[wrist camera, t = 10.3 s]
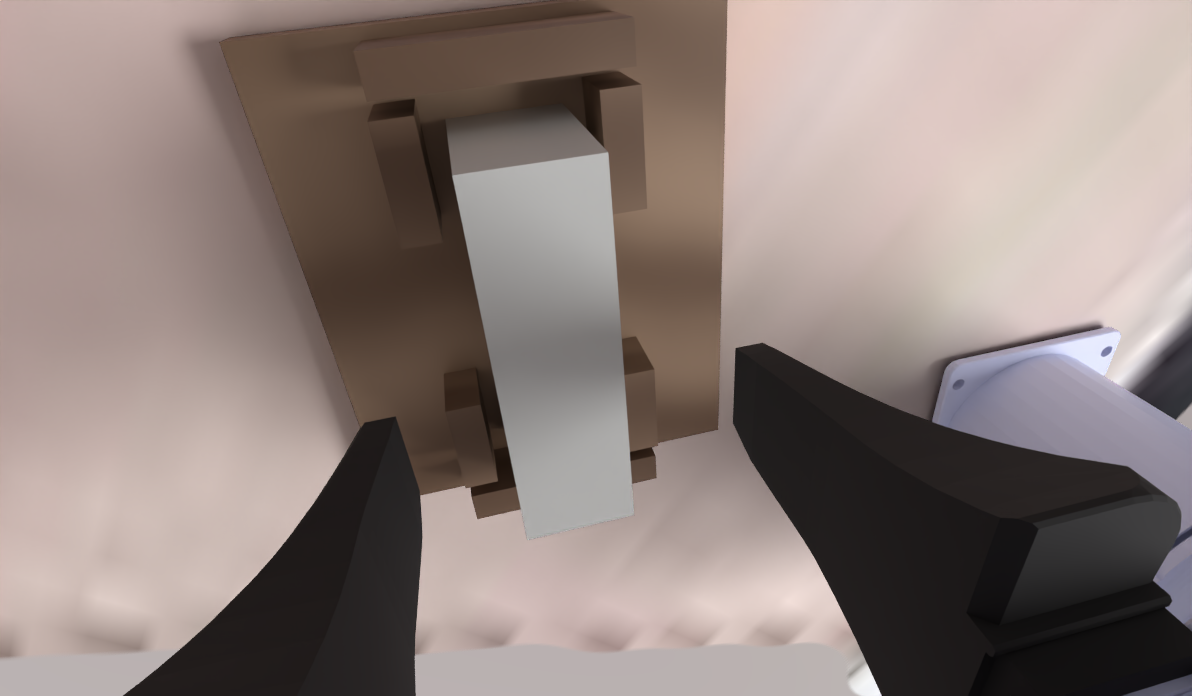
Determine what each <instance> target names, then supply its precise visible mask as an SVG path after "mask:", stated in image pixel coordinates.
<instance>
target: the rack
mask: <svg viewBox="0 0 1192 696" xmlns="http://www.w3.org/2000/svg"><path fill="white" fill-rule="evenodd" d="M726 41H727V0H553V1H545V2H536V3H527V4H519V5H510V6H501V7H492V8H484V9H475V10H466V11H458V12H449V13H440V14H431V15H423V16H414V17H405V18H397V19H388V20H379V21H371V22H362V23H353V24H344V25H336V26H327V27H318V28H310V29H301V30H292V31H284V32H275V33H266V34H257V35H249V36H240V37H231V38H228V39H226V40H224V41H221V42H219V43H220V46H221V48H222V51H223V54H224V57H225V59H226V62H227V65H228V68H229V70H230V73H231V76H232V78H233V81H234V84H235V87H236V89H237V92H238V95H239V98H240V100H241V103H242V106H243V108H244V111H245V114H246V117H247V119H248V122H249V125H250V128H251V130H252V133H253V136H254V139H255V141H256V144H257V147H258V149H259V152H260V155H261V158H262V160H263V163H264V166H265V169H266V171H267V174H268V177H269V179H270V182H271V185H272V188H273V190H274V193H275V196H276V199H277V201H278V204H279V207H280V209H281V212H282V215H283V218H284V220H285V223H286V226H287V229H288V231H289V234H290V237H291V240H292V242H293V245H294V248H295V250H296V253H297V256H298V259H299V261H300V264H301V267H302V270H303V272H304V275H305V278H306V280H307V283H308V286H309V289H310V291H311V294H312V297H313V300H314V302H315V305H316V308H317V311H318V313H319V316H320V319H321V321H322V324H323V327H324V330H325V332H326V335H327V338H328V341H329V343H330V346H331V349H332V351H333V354H334V357H335V360H336V362H337V365H338V368H339V371H340V373H341V376H342V379H343V381H344V384H345V387H346V390H347V392H348V395H349V398H350V401H351V403H352V406H353V409H354V412H355V414H356V417H357V420H358V422H359V425H360V428H361V427H362V425H363V424H364V423H365V422H370V421H375V420H380V419H385V418H390V417H395V416H396V419H397V422H398V425H399V428H400V431H401V434H402V437H403V440H404V444H405V447H406V450H407V453H408V456H409V459H410V462H411V465H412V468H413V471H414V475H415V478H416V481H417V484H418V487H419V490H420V495H424V494H429V493H433V492H438V491H442V490H447V489H451V488H456V487H460V486H465V487H466V488H469V487H471V496H472V500H473V504H474V508H475V512H476V515H477V519H480V518H484V517H489V516H493V515H497V514H502V513H506V512H510V511H515V510H519V509H521V507H520V502H519V497H518V493H517V488H516V483H515V478H514V473H513V468H512V463H511V458H510V454H509V449H508V444H507V439H506V434H505V429H504V424H503V420H502V415H501V410H500V405H499V400H498V395H497V390H496V386H495V381H494V376H493V371H492V366H491V361H490V356H489V352H488V347H487V342H486V337H485V332H484V327H483V322H482V318H481V313H480V308H479V303H478V298H477V293H476V288H475V283H474V279H473V274H472V269H471V264H470V259H469V254H468V249H467V245H466V240H465V235H464V230H463V225H462V220H461V215H460V211H459V206H458V201H457V196H456V191H455V186H454V181H453V177H452V169H451V161H450V153H449V145H448V137H447V129H446V121H445V119H449V118H456V117H463V116H471V115H478V114H486V113H493V112H500V111H508V110H515V109H523V108H530V107H538V106H545V105H552V104H560V103H562V104H563V105H564V106H565V107H566V108H567V109H568V110H569V111H570V112H571V113H572V114H573V115H574V116H575V117H576V118H577V120H578V121H579V122H580V123H581V124H582V125H583V126H584V127H585V128H586V129H587V130H588V131H589V132H590V133H591V134H592V136H593V137H594V138H595V139H596V140H597V141H598V142H599V143H600V144H601V145H602V146H603V147H604V148H605V149H606V150H607V151H608V155H609V169H610V183H611V197H612V211H613V225H614V239H615V253H616V267H617V281H618V295H619V309H620V323H621V337H622V351H623V365H624V379H625V392H626V406H627V420H628V434H629V448H630V462H631V476H632V484H633V483H637V482H641V481H646V480H650V479H654V478H656V459H655V454H654V452H653V449H652V447H654V446H658V443H659V442H664V441H668V440H673V439H677V438H682V437H686V436H691V435H695V434H700V433H705V432H709V431H714V430H718V411H719V365H720V319H721V273H722V226H723V180H724V134H725V87H726Z"/></svg>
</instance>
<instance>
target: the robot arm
mask: <svg viewBox="0 0 1192 696" xmlns="http://www.w3.org/2000/svg"><path fill="white" fill-rule="evenodd" d="M1120 337H1121V334H1120V332H1119V331H1117V330H1115V329H1114V328H1112V327H1106V328H1101V329H1097V330H1092V331H1087V332H1083V333H1078V334H1074V335H1069V336H1064V337H1060V338H1055V339H1050V340H1046V341H1041V342H1037V343H1032V344H1027V345H1023V346H1018V347H1014V348H1009V349H1004V350H1000V351H995V352H991V353H986V354H981V355H977V356H972V357H968V358H963V359H958V360H955V361H953V362H951V363H950V364H949V365H948V366H947V367H946V369H945V371H944V375H943V379H942V383H941V387H940V391H939V395H938V399H937V403H936V407H935V411H934V415H933V419H932V422H931V421H928V420H925V419H923V418H920V417H917V416H914V415H912V414H909V413H906V412H904V411H901V410H899V409H896V408H894V407H891V406H889V405H887V404H884V403H882V402H880V401H878V400H875V399H873V398H871V397H869V396H866V395H864V394H862V393H860V392H858V391H856V390H854V389H851V388H849V387H847V386H845V385H843V384H841V383H839V382H837V381H835V380H833V379H831V378H829V377H827V376H825V375H824V374H822V373H820V372H818V371H816V370H814V369H812V368H810V367H808V366H807V365H805V364H803V363H801V362H799V361H797V360H795V359H793V358H792V357H790V356H788V355H786V354H784V353H782V352H780V351H778V350H776V349H774V348H772V347H770V346H768V345H766V344H764V343H759V344H754V345H749V346H744V347H739V348H736V353H735V381H734V408H733V424H734V426H735V428H736V430H737V433H738V435H739V437H740V439H741V441H742V443H743V445H744V447H745V449H746V451H747V453H748V455H749V457H750V459H751V461H752V463H753V464H754V466H755V468H756V469H757V471H758V472H759V474H760V475H761V477H762V478H763V480H764V481H765V483H766V484H767V486H768V487H769V489H770V490H771V492H772V493H773V495H774V496H775V498H776V499H777V501H778V502H779V504H780V505H781V507H782V508H783V510H784V511H785V513H786V514H787V516H788V517H789V519H790V520H791V522H792V523H793V525H794V526H795V528H796V529H797V531H798V532H799V534H800V535H801V537H802V538H803V540H804V541H805V543H806V545H807V546H808V548H809V549H810V551H811V553H812V554H813V556H814V558H815V560H816V561H817V563H818V565H819V567H820V569H821V571H822V573H823V575H824V577H825V579H826V580H827V582H828V584H829V586H830V588H831V590H832V592H833V594H834V596H835V598H836V600H837V602H838V604H839V606H840V608H841V610H842V612H843V614H844V616H845V618H846V620H847V622H848V624H849V626H850V628H851V630H852V632H853V634H854V636H855V638H856V640H857V642H858V645H859V647H860V649H861V651H862V653H863V655H864V658H865V660H866V662H867V664H868V666H869V669H870V671H871V673H872V675H873V677H874V679H875V682H876V684H877V686H878V688H879V690H880V693H881V695H882V696H1192V430H1191V429H1189V428H1188V427H1186V426H1184V425H1183V424H1181V423H1179V422H1178V421H1176V420H1175V419H1173V418H1171V417H1170V416H1168V415H1166V414H1165V413H1163V412H1162V411H1160V410H1158V409H1157V408H1155V407H1153V406H1152V405H1150V404H1149V403H1147V402H1145V401H1144V400H1142V399H1140V398H1139V397H1137V396H1136V395H1134V394H1132V393H1131V392H1129V391H1128V390H1126V389H1124V388H1123V387H1121V386H1119V385H1118V384H1116V383H1115V382H1113V381H1111V380H1110V379H1108V378H1106V377H1105V374H1106V372H1107V369H1108V367H1109V364H1110V362H1111V360H1112V357H1113V355H1114V352H1115V350H1116V348H1117V345H1118V343H1119V340H1120ZM421 549H422V518H421V502H420V490H419V487H418V484H417V481H416V478H415V475H414V471H413V468H412V465H411V462H410V459H409V456H408V453H407V450H406V447H405V444H404V440H403V437H402V434H401V431H400V428H399V425H398V422H397V419H396V416H395V417H390V418H385V419H380V420H375V421H370V422H365V423H364V424H363V425H362V427H361V428H360V430H359V431H358V433H357V435H356V436H355V438H354V440H353V442H352V443H351V445H350V447H349V448H348V450H347V452H346V453H345V455H344V457H343V458H342V460H341V462H340V463H339V465H338V467H337V468H336V470H335V471H334V473H333V475H332V476H331V478H330V479H329V481H328V482H327V484H326V485H325V487H324V488H323V490H322V492H321V493H320V495H319V496H318V498H317V499H316V501H315V502H314V504H313V505H312V506H311V508H310V509H309V511H308V512H307V513H306V515H305V516H304V517H303V519H302V520H301V522H300V523H299V524H298V526H297V527H296V528H295V530H294V531H293V532H292V534H291V535H290V536H289V538H288V539H287V540H286V542H285V543H284V544H283V545H282V547H281V548H280V549H279V550H278V552H277V553H276V554H275V555H274V556H273V558H272V559H271V560H270V561H269V562H268V563H267V564H266V566H265V567H264V568H263V569H262V570H261V571H260V572H259V573H258V575H257V576H256V577H255V578H254V579H253V580H252V581H251V582H250V583H249V584H248V585H247V586H246V587H245V588H244V589H243V590H242V591H241V592H240V593H239V594H238V595H237V596H236V597H235V598H234V599H233V600H232V601H231V602H230V603H229V604H228V605H227V606H226V607H225V608H224V609H223V610H222V611H221V612H220V613H219V614H218V615H217V616H216V617H215V618H214V619H213V620H212V621H211V622H210V623H209V624H208V625H207V626H206V627H205V628H204V629H202V630H201V631H200V632H199V633H198V634H197V635H196V636H195V637H194V638H192V639H191V640H190V641H189V642H188V643H187V644H186V645H185V646H184V647H182V648H181V649H180V650H179V651H178V652H177V653H175V654H174V655H173V656H172V657H171V658H169V659H168V660H167V661H166V662H165V663H164V664H162V665H161V666H160V667H159V668H158V669H157V670H155V671H154V672H153V673H151V674H150V675H149V676H148V677H147V678H145V679H144V680H143V681H142V682H140V683H139V684H138V685H136V686H135V687H134V688H132V689H131V690H130V691H128V692H127V693H126V694H125V695H123V696H416V693H415V660H414V659H415V632H416V618H417V605H418V591H419V578H420V564H421Z"/></svg>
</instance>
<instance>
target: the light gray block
mask: <svg viewBox="0 0 1192 696" xmlns="http://www.w3.org/2000/svg"><path fill="white" fill-rule="evenodd" d="M445 121H446V129H447V137H448V145H449V153H450V161H451V169H452V177H453V181H454V186H455V191H456V196H457V201H458V206H459V211H460V215H461V220H462V225H463V230H464V235H465V240H466V245H467V249H468V254H469V259H470V264H471V269H472V274H473V279H474V283H475V288H476V293H477V298H478V303H479V308H480V313H481V318H482V322H483V327H484V332H485V337H486V342H487V347H488V352H489V356H490V361H491V366H492V371H493V376H494V381H495V386H496V390H497V395H498V400H499V405H500V410H501V415H502V420H503V424H504V429H505V434H506V439H507V444H508V449H509V454H510V458H511V463H512V468H513V473H514V478H515V483H516V488H517V493H518V497H519V502H520V507H521V512H522V517H523V522H524V527H525V531H526V536H527V540H530V539H535V538H539V537H543V536H548V535H552V534H556V533H560V532H565V531H569V530H573V529H577V528H582V527H586V526H590V525H595V524H599V523H603V522H607V521H612V520H616V519H620V518H624V517H629V516H633V515H634V504H633V490H632V476H631V462H630V448H629V434H628V420H627V406H626V392H625V379H624V365H623V351H622V337H621V323H620V309H619V295H618V281H617V267H616V253H615V239H614V225H613V211H612V197H611V183H610V169H609V155H608V151H607V150H606V149H605V148H604V147H603V146H602V145H601V144H600V143H599V142H598V141H597V140H596V139H595V138H594V137H593V136H592V134H591V133H590V132H589V131H588V130H587V129H586V128H585V127H584V126H583V125H582V124H581V123H580V122H579V121H578V120H577V118H576V117H575V116H574V115H573V114H572V113H571V112H570V111H569V110H568V109H567V108H566V107H565V106H564V105H563V104H562V103H560V104H552V105H545V106H538V107H530V108H523V109H515V110H508V111H500V112H493V113H486V114H478V115H471V116H463V117H456V118H449V119H445Z"/></svg>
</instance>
